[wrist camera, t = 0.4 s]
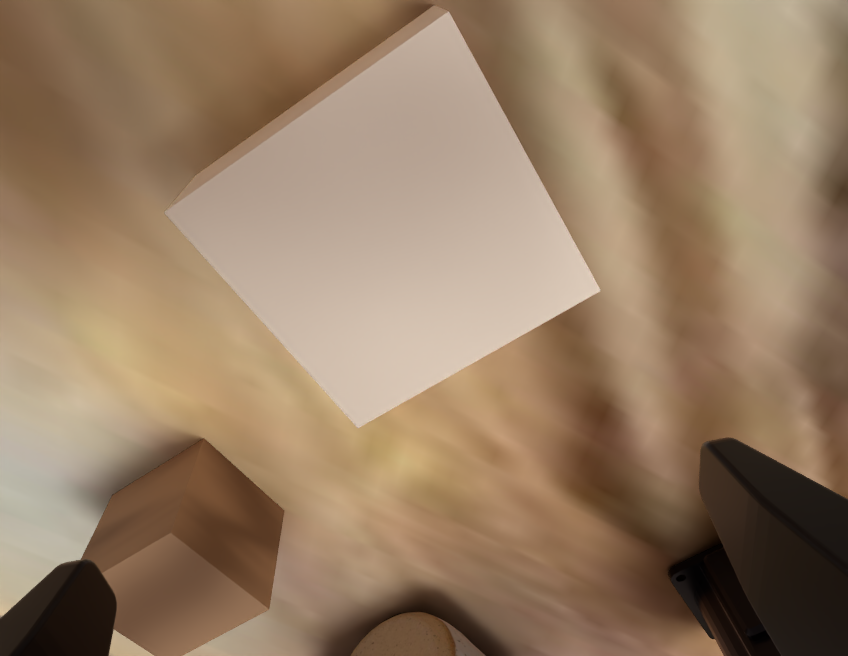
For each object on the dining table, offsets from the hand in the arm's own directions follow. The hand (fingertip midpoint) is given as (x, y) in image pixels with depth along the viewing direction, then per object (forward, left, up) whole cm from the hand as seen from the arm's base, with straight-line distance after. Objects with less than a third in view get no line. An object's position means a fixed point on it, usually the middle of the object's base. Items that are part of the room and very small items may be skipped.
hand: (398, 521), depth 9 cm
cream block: (0, 0, -14) cm, 14 cm away
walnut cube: (-6, +14, -14) cm, 20 cm away
